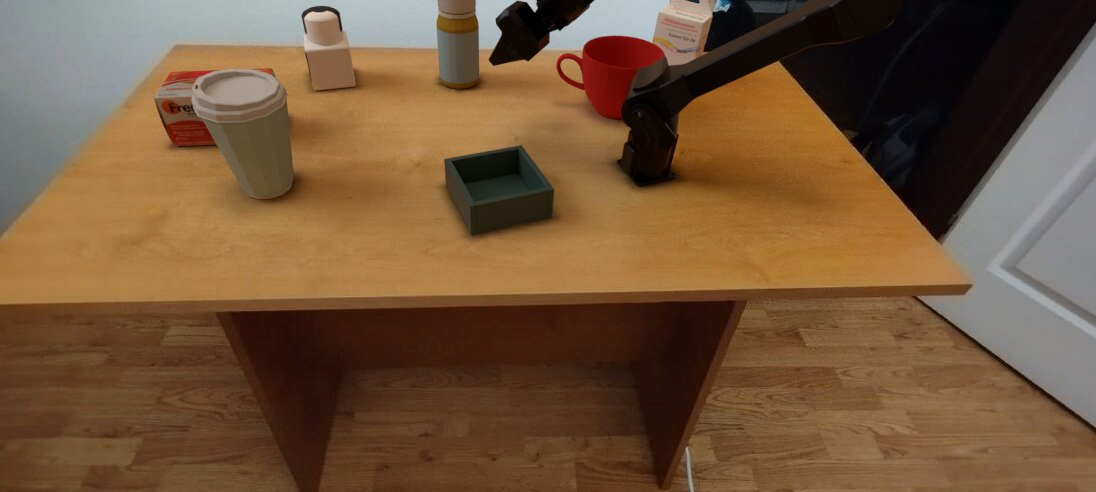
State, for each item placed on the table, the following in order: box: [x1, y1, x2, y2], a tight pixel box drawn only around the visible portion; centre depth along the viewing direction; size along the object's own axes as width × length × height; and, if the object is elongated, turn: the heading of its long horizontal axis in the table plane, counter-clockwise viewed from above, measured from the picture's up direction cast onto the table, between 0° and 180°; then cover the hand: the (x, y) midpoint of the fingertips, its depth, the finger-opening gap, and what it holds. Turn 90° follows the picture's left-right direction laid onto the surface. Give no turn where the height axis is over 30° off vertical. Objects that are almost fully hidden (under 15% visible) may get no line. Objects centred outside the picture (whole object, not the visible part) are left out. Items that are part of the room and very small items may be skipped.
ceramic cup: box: [555, 35, 665, 120], centre depth 94 cm, size 13×17×10 cm
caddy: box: [443, 144, 555, 236], centre depth 76 cm, size 11×11×4 cm
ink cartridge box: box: [651, 0, 717, 65], centre depth 103 cm, size 9×5×15 cm, turn 58°
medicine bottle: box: [301, 5, 356, 91], centre depth 97 cm, size 7×7×12 cm
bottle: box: [436, 0, 480, 90], centre depth 98 cm, size 7×7×15 cm
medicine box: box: [153, 67, 276, 147], centre depth 85 cm, size 15×8×8 cm, turn 99°
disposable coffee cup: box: [192, 67, 295, 200], centre depth 73 cm, size 11×11×15 cm
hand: (506, 50), depth 80 cm, fingers open, 9 cm apart
